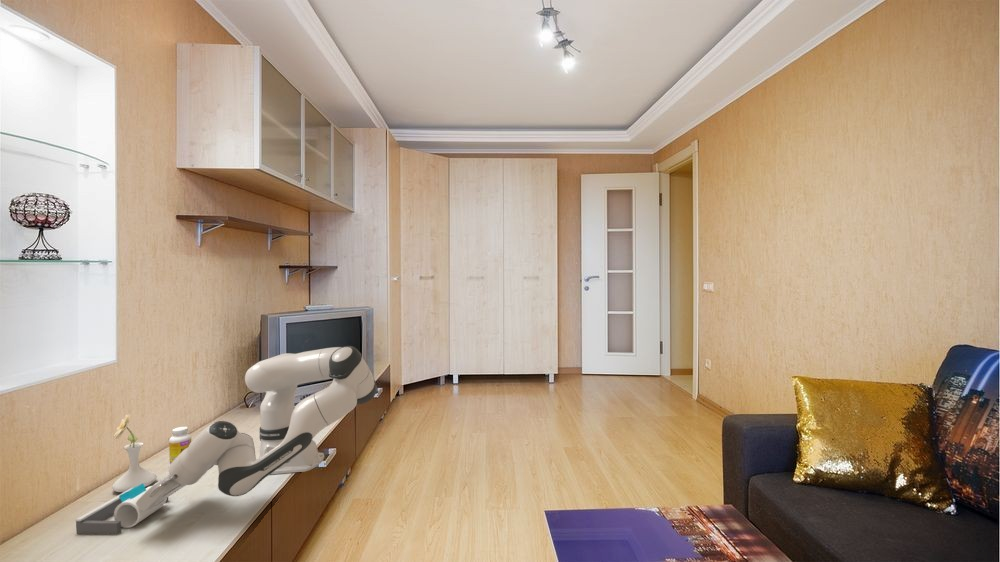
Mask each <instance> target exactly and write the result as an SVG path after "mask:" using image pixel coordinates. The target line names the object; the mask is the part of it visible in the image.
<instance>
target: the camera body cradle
mask: <svg viewBox="0 0 1000 562" xmlns="http://www.w3.org/2000/svg"><path fill="white" fill-rule="evenodd" d="M131 489H132V488H130V489H129V490H131ZM129 490H127V491H129ZM127 491H125V492H127ZM125 492H121V493H120V494H118V495H116V496H114V497H113V498H111V499H109V500H108V501H106V502H104V503H102V504H100V505H99V506H97V507H95V508H93V509H91V510H90V511H88V512H86V513H85V514H82V515H81V516H79V517H78V518H75V527H76V529H75V530H76V531H75V532H76V533H75V534H76V535H118V534H120V533H121V532H122V527H121V521H111V520H107V519H108V518H110V517H112V516H114V511H115V508H116V507H117V506H118V505H119V504H121V503H122V501H121V499H120V497H119V496H120V495H121V494H123V493H125ZM167 502H169V497H167V499H166V502H165V504H166V503H167Z"/></svg>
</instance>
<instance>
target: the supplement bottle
mask: <svg viewBox="0 0 1000 562" xmlns="http://www.w3.org/2000/svg"><path fill="white" fill-rule="evenodd" d="M171 431H172V432H171V433H172V436H171V437H170V438H169V439H168V446H169V447H168V448H169V454H168V455H169V465H170V464H171V463H172V462H173V461H174V460H175V459H176V458H177V457H178V456H179V454H180V453H181V452H182V451H183V450H185V449H186V448H188V447H189V445H190V443H191V442H192V435H191V433H188V431H189V427H188V426H178V427H176V428H173V429H172V430H171Z"/></svg>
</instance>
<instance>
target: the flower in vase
mask: <svg viewBox="0 0 1000 562" xmlns="http://www.w3.org/2000/svg"><path fill="white" fill-rule="evenodd" d="M130 420H131V414H130V413H128V414H126V415H125V416H124V418H122V419H120V423H119V425H118V426H117V427H116V429H115V430H116V432H115V434H113V439H114V440H117V439H119V438H120V437H121V436H122V434H123V433H124V432H125V430H126V429H127V431H128V432H129V433H130V434H129V435H128V437H127V440H128V441H130V443H129V444H126V445H125V446H123V449H124V450H125V451H126V452H127V454H128V458H129V467H128V470H127V471H126V472H124V474H122V475H121V476H120V477H119V478H118V479H116V480H115V482H114V483H113V485H112V487H111V490H112V491H114V492H116V493H123V492H125V491H127V490H129V489H130V488H134V487H137V486H139V485H141V484H144V486H145V488H147V487H149V486H151V485H152V484H153V483H154V482H155V481H156V480H157V478H158V476H157V474H156V473H155V472H154V471H152V470H149V469H146V468H143V467H141V466H140V464H139V463H140V462H139V458H140V457H139V454H140V450H141V449H142V447H143V445H144V443H143V442H137V440H138V437H137V436H136V435H135V434H134V433H133V432H132V431H131V429H130V428H129V427H128V425H129V423H130Z"/></svg>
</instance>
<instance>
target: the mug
mask: <svg viewBox="0 0 1000 562" xmlns="http://www.w3.org/2000/svg"><path fill="white" fill-rule="evenodd" d="M152 486H153V485H148V486H146V487H145V486H144V484H141V485H139V486H137V487H134V488H132V489H131V490H129V491H127V492H125V493H123V492H122V493H123V494H122V493H120V494H121V495H120V494H119V495H120V496H119V497H120V499H121V501H122V503H121V504H119V505H118V506H117V507H116V508H115V511H114V514H113V518H112V519H111V520H110V521H121V528H125V529H129V528H133V527H135V526H136V525H138V524H139V523H140V522H141V521H143V520H145V519H146V518H147V517H149V516H150V515H152V514H153V513H155V512H157V511H158V510H159V509H161V508H162V507H163V506H164V505H165V504H166V503H167V502H166V499H167V498H166V499H165V500H164V501H162V502H161V503H159V504H158V505H156V506H153V507H152V508H150V509H149V510H147V511H145V512H144V511H142V510H141V509H140V508H139V507H138V506H137V505H136V502H137V500H138V499H139V498H140V497H141V496H142V495H143V494H144V493H145V492H146V491H147V490H148V489H149V488H151V487H152ZM165 502H166V503H165Z"/></svg>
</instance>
